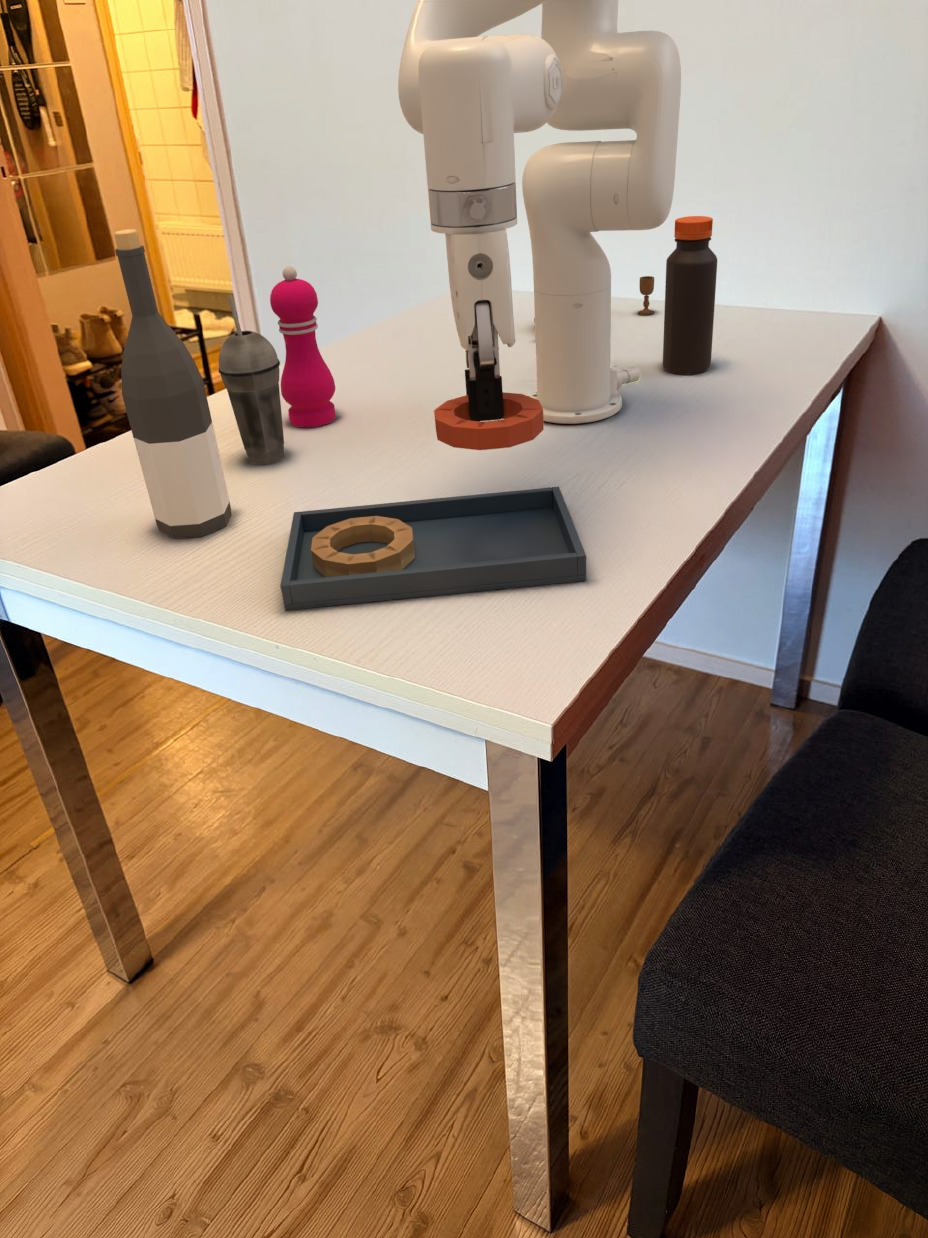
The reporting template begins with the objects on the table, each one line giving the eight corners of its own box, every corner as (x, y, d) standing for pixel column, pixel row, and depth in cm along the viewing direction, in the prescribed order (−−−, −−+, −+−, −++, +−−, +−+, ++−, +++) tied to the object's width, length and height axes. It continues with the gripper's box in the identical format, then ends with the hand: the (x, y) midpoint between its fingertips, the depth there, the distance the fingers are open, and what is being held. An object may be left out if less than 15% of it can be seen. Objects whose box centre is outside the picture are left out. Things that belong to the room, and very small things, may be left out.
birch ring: (413, 529, 98) (411, 512, 97) (416, 575, 89) (414, 557, 88) (317, 539, 98) (314, 521, 96) (311, 586, 89) (308, 567, 88)
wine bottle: (163, 546, 100) (83, 243, 84) (153, 517, 106) (76, 231, 91) (240, 528, 103) (175, 230, 87) (225, 500, 109) (162, 219, 93)
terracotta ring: (534, 408, 93) (533, 388, 92) (549, 443, 85) (549, 422, 84) (433, 417, 93) (432, 397, 92) (439, 454, 84) (437, 432, 83)
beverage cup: (306, 448, 121) (278, 285, 111) (278, 470, 115) (246, 301, 105) (255, 445, 123) (224, 285, 113) (226, 467, 118) (190, 300, 107)
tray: (559, 508, 101) (559, 486, 100) (586, 580, 88) (586, 555, 86) (297, 534, 100) (293, 511, 99) (285, 610, 87) (280, 585, 86)
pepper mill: (330, 429, 126) (305, 272, 116) (278, 429, 128) (250, 273, 117) (346, 410, 132) (325, 259, 122) (297, 410, 134) (272, 260, 123)
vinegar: (695, 357, 141) (703, 212, 131) (719, 370, 136) (730, 219, 125) (653, 365, 140) (658, 218, 129) (676, 378, 134) (683, 225, 123)
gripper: (528, 219, 76) (535, 440, 85) (506, 192, 89) (514, 385, 99) (433, 227, 75) (451, 448, 85) (426, 199, 89) (442, 392, 99)
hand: (485, 412), depth 92 cm, fingers closed on terracotta ring, 2 cm apart
